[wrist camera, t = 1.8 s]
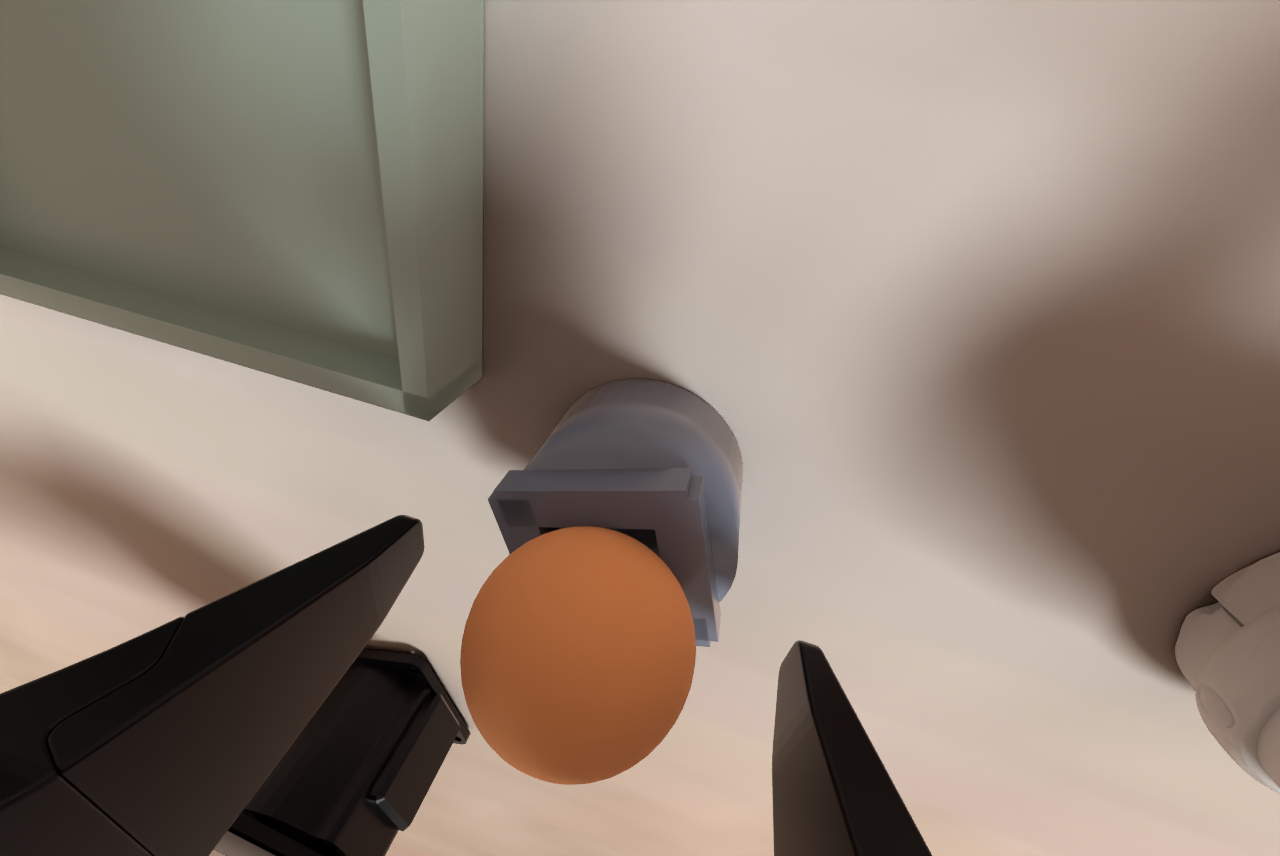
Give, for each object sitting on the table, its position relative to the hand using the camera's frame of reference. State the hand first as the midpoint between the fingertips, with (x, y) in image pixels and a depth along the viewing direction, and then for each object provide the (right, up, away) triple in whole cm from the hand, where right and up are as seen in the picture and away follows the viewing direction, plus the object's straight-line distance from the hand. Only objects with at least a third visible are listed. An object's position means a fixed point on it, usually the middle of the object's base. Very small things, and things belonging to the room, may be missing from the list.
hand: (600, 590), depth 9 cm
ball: (0, -1, -1) cm, 1 cm away
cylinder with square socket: (+1, +2, +4) cm, 4 cm away
